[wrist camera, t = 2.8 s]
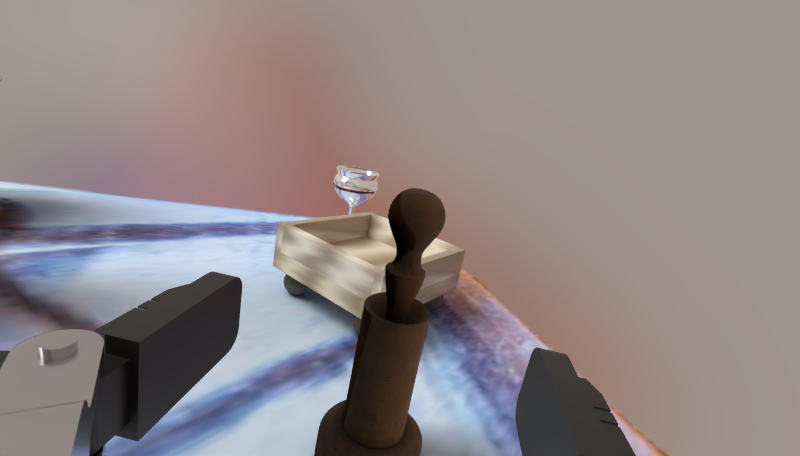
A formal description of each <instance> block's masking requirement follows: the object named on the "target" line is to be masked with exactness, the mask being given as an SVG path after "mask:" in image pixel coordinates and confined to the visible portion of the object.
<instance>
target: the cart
mask: <svg viewBox="0 0 800 456" xmlns="http://www.w3.org/2000/svg"><path fill="white" fill-rule="evenodd" d="M396 254H397V252H396V243H395V240H394V237H393V234H392V231H391V228H390V225H389V219H386V218H384V217H381V216H379V215H377V214H374V213H371V212H367V213H358V214H350V215H341V216H332V217H324V218H315V219H307V220H298V221H290V222H281V223H278V227H277V236H276V244H275V253H274V262H273V266H274V267H276V268H278V269H279V270H281V271H283V272H284V273H286V275H285V277H284V286H285V288H286V290H287V291H288V292H290V293H291V294H295V295H300V294H303V293H305V292H306V291H307V290H308V289H309V288H311V289H312V290H314V291H315V292H317V293H319V294H320V295H322V296H324V297H325V298H327V299H329V300H330V301H332V302H334V303H335V304H337V305H338V306H340V307H342V308H343V309H345V310H347V311H348V312H350V313H352V314H353V315H355V316H356V318H355V321H354V330H355V332H356V334H357V335H359V330H360V324H361V318H362V312H363V307H364V302H365V300H366V298H367V297H369V296H370V295H373V294H376V293H380V292H386V285H385V266H386V264H387V263H389V262H393V260H394V259H395V257H396ZM464 254H465V250H464V249H462V248H459V247H457V246H454V245H452V244H449V243H447V242H444V241H442V240H439V239H436V238H435V239H434V240H433V242H432V243H431V244H430V245H429V246H428V247H427V248H426V249H425V250H424V252H423V254H422V259H421V267H422V269H424V271H425V272H426V276H425V279H424V281H423V284H422V286H421V288H420V290H419V292H418V294H417V296H416V298H415V299H417V300H419V301H420V302H422V303H423V304H424V305H425V306H426V307H427V308H428V309H429V310H434V309H436V308H438V307H439V306H440V305H441V303H442V301H443V294H445V293H448V292H450V291H452V290H454V289H456V285H457V281H458V278H459V274H460V270H461V266H462V261H463V258H464Z"/></svg>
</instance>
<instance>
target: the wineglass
mask: <svg viewBox="0 0 800 456" xmlns="http://www.w3.org/2000/svg"><path fill="white" fill-rule="evenodd" d="M337 169H338V174H337V175H336V176H335V179H334V186H335V190H336V192H337V193H338V194H339V196H340V197H341V198H342V199H344V200H345V201H347V202H348V205H349V206H350V208H349V215H350V214H353V213H354V208H355V207H356V206H357V205H358V204H360V203H363V202H366V201H368V200H369V199H370V198H372V197H373V196H374V195H375V193H376V191H377V188H378V184H377V181H376V179H377V178H378V176H379V173H377V172H375V171H372V170H368V169H364V168H359V167H353V166H337Z"/></svg>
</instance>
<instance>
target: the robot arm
mask: <svg viewBox="0 0 800 456" xmlns="http://www.w3.org/2000/svg"><path fill="white" fill-rule="evenodd" d="M241 294H242V282H241V279H240V278H238V277H234V276H230V275H225V274H221V273H217V272H210V273H208V274H206V275H204V276H203V277H201V278H199V279H197V280H196V281H194V282H192V283H191V284H186V285H183V286H179V287H176V288H172V289H169V290H166V291H164V292H163V293H161V294H159V295H157V296H155V297H154V298H152V299H151V301H149V300H148V301H147V302H145V303H143V304H141V305H139V306H138V308H134V309H132V310H130V311H129V312H127V313H125V314H123V315H122V316H120V317H118V318H116V319H114V320H113V321H111V322H109V323H107V324H106V325H104V326H102V327H100V328H98V329H97V330H95V331H88V330H82V329H66V330H58V331H52V332H48V333H44V334H40V335H37V336H34V337H32V338H29V339H27V340H25V341H23V342H21V343H20V344H18V345H17V346H15V347H14V348H13V349H12V350H11V351H0V456H105V444H106V443H107V442H108V441H109V440H110V439H111V438H113V437H114V436H115V435H116V436H120V437H124V438H127V439H131V440H134V441H139V440H140V439H141V438H142V437H143V436H144V435H145V434H146V433H147V432H148V431H149V430H150V429H151V428H152V427H153V426H154V425H155V424H156V423H157V422H158V421H159V420H160V419H161V418H162V417H163V416H164V415H165V414H166V413H167V412H168V411H169V410H170V409H171V408H172V407H173V406H174V405H175V404H176V403H177V402H178V401H179V400H180V399H181V398H182V397H183V396H184V395H185V394H186V393H187V392H188V391H189V390H190V389H191V388H192V387H193V386H194V385H195V384H196V383H198V382H199V381H200V380H201V379H202V378H203V377H204V376H205V375H206V374H207V373H208V372H209V371H210V370H211V369H212V368H213V367H214V366H215V365H216V364H217V363H218V362H219V361H220V360H221V359H222V358H223V357H224V356H225V355H226V354H227V353H228V352H229V351H230V349H231V348H232V346H233V344H234V342H235V340H236V337H237V334H238V328H239V317H240V306H241ZM610 411H611V410H610V408H609V406H608V405H607V403H606V401H605V399H604V397H603V396H602V394H601V393H600V392H599V391H598V390H597V389H596V388H595V387H594V386H593V385H592V384H591V383H590V382H588V381H587V380H586V379H584V378H580V377H578V375H577V373H576V371H575V369H574V367H573V365H572V363H571V361H570V359H569V357H568V356H567V355H566V354H563V353H559V352H554V351H550V350H546V349H541V348H535V349H534V350H533V352H532V354H531V357H530V360H529V364H528V367H527V370H526V373H525V377H524V380H523V383H522V386H521V390H520V393H519V396H518V400H517V405H516V426H517V431H518V436H519V441H520V445H521V450H522V455H523V456H636V455H635V453H634V452H633V450H632V448H631V446H630V444H629V443H628V441H627V439H626V437H625V435H624V434H623V432H622V430H621V428H620V427H618V423H617V421H616V419H615V417H614V416H613V414H612V413H610Z"/></svg>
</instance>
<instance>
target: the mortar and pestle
mask: <svg viewBox="0 0 800 456" xmlns="http://www.w3.org/2000/svg"><path fill="white" fill-rule="evenodd" d="M388 218H389V225H390V228H391V231H392V234H393V237H394V240H395V243H396V252H397V254H396V257H395V259H394V260H393V262H389V263H387V264H386V266H385V285H386V292H380V293H376V294H373V295H370V296H369V297H367V298H366V300H365V302H364V307H363V312H362V318H361V324H360V330H359V335H358V341H357V346H356V352H355V357H354V363H353V368H352V374H351V379H350V384H349V389H348V395H347V400H344V401H342V402H340V403H338V404H336V405H335V406H333V407H332V408H331V409H330V410H329V411H328V412H327V413H326V414H325V416H324V417H323V419H322V421H321V424H320V427H319V431H318V437H317V442H316V448H315V455H314V456H420V452H421V447H422V437H421V432H420V429H419V427H418V425H417V423H416V422H415V420H414V419H413V418H412V417H411V416H410V415H409V414H408V410H409V406H410V401H411V396H412V392H413V387H414V383H415V378H416V374H417V370H418V365H419V361H420V357H421V353H422V348H423V344H424V340H425V336H426V332H427V328H428V324H429V320H430V311H429V309H428V308H427V307H426V306H425V305H424V304H423V303H422V302H420V301H419V300H417V299H415V298H416V296H417V294H418V292H419V290H420V288H421V286H422V284H423V281H424V279H425V276H426V272H425V271H424V269H422V267H421V259H422V254H423V252H424V250H425V249H426V248H427V247H428V246H429V245H430V244H431V243H432V242H433V240H434V239H435V238H436V237H437V236H438V235H439V233H440V232H441V230H442V229H443V226H444V222H445V210H444V206H443V204H442V202H441V200H440V199H439V198H438V197H437V196H436V195H435V194H433V193H431V192H429V191H426V190H422V189H417V188H412V189H407V190H404V191H402V192H401V193H400V194H398V195H397V196H396V198H395V199H394V200H393V202H392V204H391V206H390V209H389V214H388Z"/></svg>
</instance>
